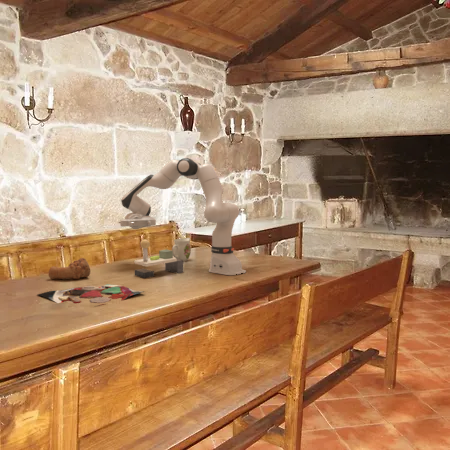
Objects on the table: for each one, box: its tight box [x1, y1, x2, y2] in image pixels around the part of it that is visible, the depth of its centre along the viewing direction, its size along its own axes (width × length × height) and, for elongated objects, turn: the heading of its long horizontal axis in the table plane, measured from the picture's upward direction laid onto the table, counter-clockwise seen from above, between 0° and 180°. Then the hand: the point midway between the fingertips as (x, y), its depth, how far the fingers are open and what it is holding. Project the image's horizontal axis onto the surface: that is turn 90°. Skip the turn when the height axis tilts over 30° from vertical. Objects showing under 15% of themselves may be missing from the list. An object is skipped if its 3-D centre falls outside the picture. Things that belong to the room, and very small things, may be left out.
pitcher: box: [171, 237, 192, 262], centre depth 300 cm, size 11×18×14 cm, turn 148°
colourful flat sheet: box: [36, 283, 145, 307], centre depth 213 cm, size 35×35×2 cm
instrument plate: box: [133, 239, 177, 267], centre depth 258 cm, size 20×12×14 cm, turn 132°
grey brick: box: [134, 259, 184, 279], centre depth 260 cm, size 12×25×7 cm, turn 132°
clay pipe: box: [48, 257, 91, 280], centre depth 247 cm, size 19×11×15 cm
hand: (140, 223), depth 263 cm, fingers open, 8 cm apart
